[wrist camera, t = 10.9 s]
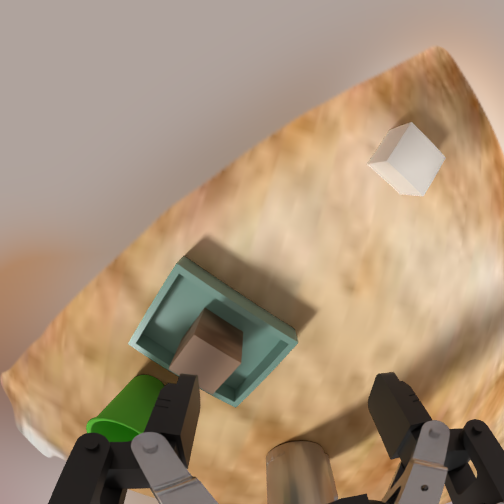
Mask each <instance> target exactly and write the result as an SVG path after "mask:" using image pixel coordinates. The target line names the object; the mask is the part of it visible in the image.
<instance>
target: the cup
mask: <svg viewBox="0 0 504 504" xmlns="http://www.w3.org/2000/svg"><path fill="white" fill-rule="evenodd" d="M163 387H164V385H163V383H162V382H161V381H159V380H158V379H156V378H155V377H152V376H149V375H139V376H137V377H134V378H133V379H132V380H131V381H130V382H129V383H128V384H127V386H126V387H125V388H124V389H123V390H122V391H121V392H120V393H119V394H118V395H117V396H116V397H115V398H114V399H113V400H112V401H111V402H110V403H109V404H108V406H107V407H106V408H105V409H104V410H103V411H102V412H101V413H100V414H99V415H98V416H97V417H95V418H92V419H90V420H89V421H88V423H87V426H86V429H87V433H99V434H101V435H103V436H105V437H106V438H107V439H108V441H109V442H128V441H132V440H133V439H134V438H135V437H136V436H137V435H139V434H141V433H143V432H144V430H145V428H146V425H147V423H148V420H149V417H150V415H151V412H152V410H153V407H154V406H155V402H156V400H157V397H158V395H159V393H160V390H161V389H162V388H163Z"/></svg>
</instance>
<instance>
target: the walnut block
mask: <svg viewBox="0 0 504 504" xmlns="http://www.w3.org/2000/svg"><path fill="white" fill-rule="evenodd" d="M242 345H243V331H241V330H239V329H238V328H236V327H235V326H233V325H231V324H230V323H228V322H227V321H225V320H224V319H222V318H220V317H219V316H217V315H216V314H214V313H213V312H211V311H210V310H208V309H207V308H205V307H204V309H203V310H202V312H201V313H200V314H199V316H198V317H197V318H196V320H195V321H194V323H193V324H192V325H191V327H190V328H189V330H188V331H187V332H186V334H185V335H184V336H183V338H182V339H181V342H180V344H179V346H178V348H177V351H176V353H175V355H174V357H173V360H172V362H171V364H170V366H169V370H171V371H172V372H174V373H176V374H177V375H179V376H180V374H181V373H183V374H193V375H198V380H199V387H200V388H201V389H203V390H205V391H207V392H209V393H210V394H213V393H214V392H215V391H216V390H217V389H218V388H219V387H220V386H221V385H222V384H223V383H224V382H225V380H226V379H227V378H228V377H229V376H230V375H231V374H232V373H233V372H234V371H235V369H236V368H237V367H238V366H239V365H240V364H241V359H242Z"/></svg>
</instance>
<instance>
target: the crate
mask: <svg viewBox="0 0 504 504" xmlns="http://www.w3.org/2000/svg"><path fill="white" fill-rule="evenodd" d="M204 307H205V308H207V309H208V310H210V311H211V312H213V313H214V314H216V315H217V316H219V317H220V318H222V319H224V320H225V321H227V322H228V323H230V324H231V325H233V326H235V327H236V328H238V329H239V330H241V331H243V345H242V359H241V364H240V365H239V366H238V367H237V368H236V369H235V371H234V372H233V373H232V374H231V375H230V376H229V377H228V378H227V379H226V380H225V382H224V383H223V384H222V385H221V386H220V387H219V388H218V389H217V390H216V391H215V392H214V393H213V394H210V393H209V392H207V391H205V390H203V389H201V388H200V387H199V389H201V390H203V391H205V392H207V393H208V394H210V395H212V396H214V397H216V398H218V399H220V400H222V401H224V402H226V403H228V404H230V405H232V406H234V407H237V406H238V405H239V404H240V403H241V402H242V401H243V400H244V399H245V398H246V397H247V396H248V395H249V394H250V393H251V392H252V391H253V390H254V389H255V388H256V387H257V386H258V385H259V384H260V383H261V382H262V381H263V380H264V379H265V378H266V377H267V376H268V375H269V374H270V373H271V372H272V371H273V370H274V369H275V368H276V367H277V365H278V364H279V363H280V362H281V361H282V360H283V359H284V358H285V357H286V356H287V355H288V354H289V352H290V351H291V350H292V349H293V348H294V347H295V346H296V345H297V344H298V339H297V336H296V332H295V329H294V328H292V327H291V326H289V325H288V324H286V323H284V322H283V321H281V320H280V319H278V318H276V317H275V316H273V315H272V314H270V313H269V312H267V311H266V310H264V309H262V308H261V307H259V306H258V305H256V304H255V303H253V302H252V301H250V300H249V299H247V298H246V297H244V296H243V295H241V294H240V293H238V292H236V291H235V290H233V289H232V288H230V287H229V286H227V285H226V284H224V283H223V282H222V281H220V280H219V279H217V278H216V277H214V276H213V275H211V274H210V273H208V272H207V271H205V270H204V269H202V268H201V267H199V266H198V265H197V264H195V263H194V262H192V261H191V260H189V259H188V258H186V257H185V256H183V257H182V258H181V259H180V260H179V261H178V262H177V263H176V265H175V267H174V268H173V270H172V271H171V273H170V274H169V276H168V278H167V279H166V281H165V283H164V284H163V286H162V287H161V289H160V291H159V292H158V294H157V296H156V297H155V299H154V300H153V302H152V304H151V305H150V307H149V309H148V310H147V312H146V314H145V316H144V317H143V319H142V321H141V322H140V324H139V326H138V327H137V329H136V331H135V333H134V334H133V336H132V338H131V340H130V341H129V343H128V344H129V345H130V346H132V347H133V348H135V349H136V350H138V351H139V352H141V353H142V354H144V355H145V356H147V357H148V358H150V359H151V360H153V361H154V362H156V363H157V364H159V365H161V366H162V367H164V368H165V369H167V370H169V366H170V364H171V362H172V360H173V357H174V355H175V353H176V351H177V348H178V346H179V344H180V342H181V339H182V338H183V336H184V335H185V334H186V332H187V331H188V330H189V328H190V327H191V325H192V324H193V323H194V321H195V320H196V318H197V317H198V316H199V314H200V313H201V312H202V310H203V309H204ZM169 371H170V372H172V371H171V370H169ZM172 373H174V372H172ZM174 374H175V375H177V374H176V373H174ZM177 376H179V375H177Z"/></svg>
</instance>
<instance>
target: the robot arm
mask: <svg viewBox="0 0 504 504" xmlns="http://www.w3.org/2000/svg"><path fill="white" fill-rule="evenodd" d="M368 408H369V411H370V413H371V416H372V418H373V420H374V422H375V425H376V427H377V429H378V431H379V434H380V436H381V438H382V441H383V443H384V445H385V448H386V450H387V452H388V455H389V457H390V459H395V458H399V457H400V459H401V462H400V463H399V465H398V468H397V470H396V472H395V475H394V477H393V479H392V482H391V484H390V486H389V488H388V490H387V492H386V494H385V496H384V498H383V499H382V501H376V500H368V497H367V494H363V495H358V496H353V497H347V498H341V499H339V500H337V499H338V494H337V490H336V486H335V481H334V477H333V473H332V469H331V465H330V460H329V456H328V454H325V453H324V451H323V448H322V447H321V446H320V445H318V444H316V443H313V442H309V441H294V442H289V443H285V444H282V445H279V446H277V447H275V448H274V449H272V450H271V451H270V452H269V453H268V454H267V457H266V474H267V504H439V501H440V498H441V494H442V491H443V487H444V484H445V486H446V488H447V491H448V493H449V496H450V498H451V500H452V503H453V504H504V450H503V449H502V447H501V446H500V444H499V443H498V441H497V439H496V438H495V436H494V435H493V433H492V432H491V430H490V429H489V427H488V426H487V425H486V424H485V423H484V422H483V421H480V420H476V419H474V420H470V421H468V422H467V423H466V425H465V426H464V428H463V429H449V428H448V427H447V425H445V424H444V423H443V422H440V421H436V420H432V419H431V417H430V415H429V414H428V412H427V411H426V409H425V408H424V406H423V405H422V403H421V402H420V401H419V399H418V397H417V396H416V395H415V393H414V391H413V390H412V388H411V387H410V386H409V385H408V384H406V383H405V382H403V381H399V379H398V378H397V376H396V375H395V373H394V372H389V373H381V374H378V375H377V376H376V378H375V381H374V384H373V387H372V390H371V393H370V396H369V399H368ZM199 413H200V391H199V380H198V375H193V374H183V373H181V374H180V376H179V378H178V381H177V384H172V383H168V384H167V385H165V386H164V387H163V388H162V389H161V390H160V393H159V395H158V397H157V400H156V402H155V406H154V407H153V410H152V412H151V415H150V417H149V420H148V423H147V425H146V428H145V430H144V432H143V433H141V434H139V435H137V436H136V437H135V438H134V439H133V440H132V441H128V442H109V441H108V439H107V438H106V437H105V436H103V435H101V434H99V433H86V434H84V435H82V436H80V437H79V438H78V439H77V441H76V443H75V445H74V447H73V449H72V451H71V453H70V456H69V458H68V460H67V462H66V464H65V466H64V468H63V471H62V473H61V475H60V477H59V480H58V482H57V484H56V486H55V489H54V491H53V493H52V496H51V498H50V500H49V503H48V504H124V500H125V496H126V492H127V489H137V488H150V489H151V491H152V493H153V494H154V496H155V498H156V499H157V501H158V503H159V504H218V503H217V501H216V500H215V499H214V498H213V497H212V496H211V494H210V493H209V492H208V491H207V489H206V488H205V487H204V486H203V484H202V483H201V482H200V481H199V480H198V479H197V478H196V477H193V476H192V475H191V474H190V473H189V472H188V470H187V469H188V465H189V460H190V456H191V451H192V446H193V441H194V436H195V432H196V427H197V422H198V417H199ZM470 459H471V461H472V462H473V464H474V466H475V468H476V470H477V478H476V477H475V475H474V473H473V471H472V470H471V468H470V466H469V464H468V462H469V460H470ZM186 468H187V469H186Z"/></svg>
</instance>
